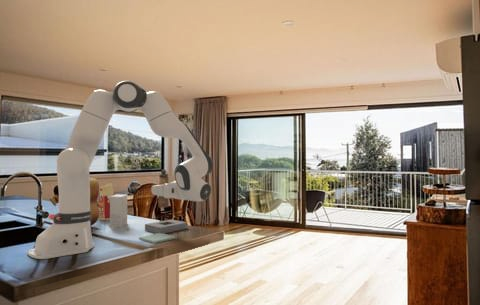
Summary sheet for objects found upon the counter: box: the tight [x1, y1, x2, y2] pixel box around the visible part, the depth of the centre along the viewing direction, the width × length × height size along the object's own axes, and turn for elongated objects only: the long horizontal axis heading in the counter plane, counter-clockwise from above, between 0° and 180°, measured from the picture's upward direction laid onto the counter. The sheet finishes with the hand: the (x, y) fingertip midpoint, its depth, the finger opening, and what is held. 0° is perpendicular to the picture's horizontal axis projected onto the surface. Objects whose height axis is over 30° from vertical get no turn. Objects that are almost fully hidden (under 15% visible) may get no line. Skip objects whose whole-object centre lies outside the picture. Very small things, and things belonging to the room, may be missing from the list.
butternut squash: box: [90, 177, 100, 226], centre depth 172 cm, size 14×13×25 cm
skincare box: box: [109, 193, 128, 228], centre depth 177 cm, size 8×7×16 cm
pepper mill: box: [157, 169, 170, 209], centre depth 163 cm, size 5×5×18 cm
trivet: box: [138, 233, 176, 244], centre depth 149 cm, size 11×11×1 cm
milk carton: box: [98, 182, 115, 221], centre depth 197 cm, size 9×9×20 cm
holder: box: [144, 219, 188, 234], centre depth 168 cm, size 16×12×3 cm
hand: (162, 187), depth 164 cm, fingers closed on pepper mill, 5 cm apart
